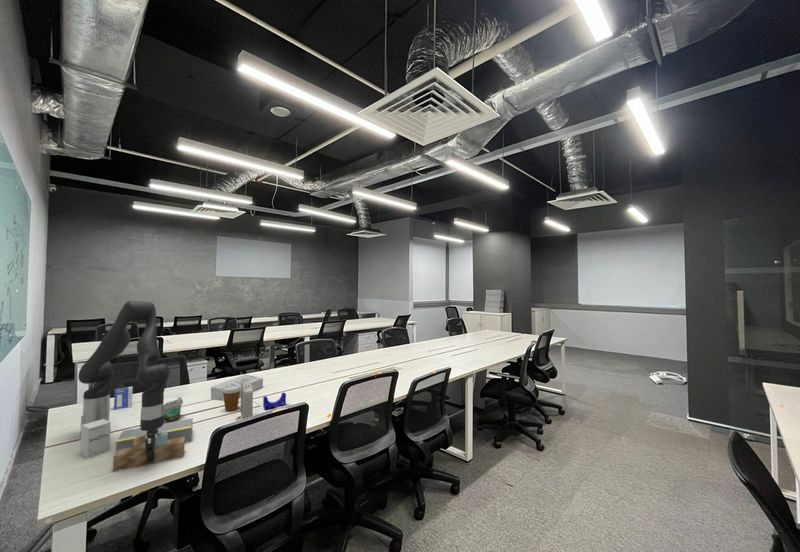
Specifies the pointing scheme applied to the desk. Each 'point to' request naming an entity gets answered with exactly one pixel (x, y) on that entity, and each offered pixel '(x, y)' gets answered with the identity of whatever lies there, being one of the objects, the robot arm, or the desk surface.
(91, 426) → the supplement box
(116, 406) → the walkman
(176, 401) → the food container
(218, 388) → the warehouse
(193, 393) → the desk surface
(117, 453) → the brown stepped block
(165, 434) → the crate teal
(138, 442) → the crate kraft
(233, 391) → the disposable coffee cup
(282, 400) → the blue arch block
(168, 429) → the block
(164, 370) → the robot arm
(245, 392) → the network device
